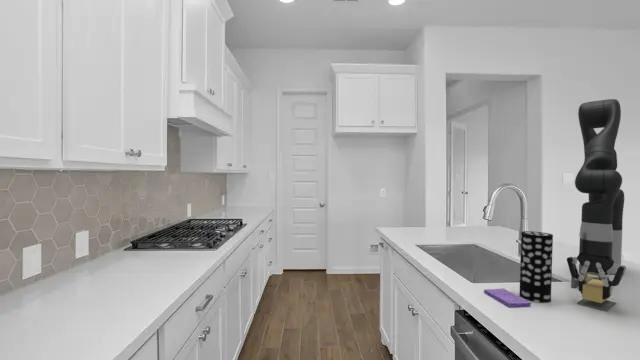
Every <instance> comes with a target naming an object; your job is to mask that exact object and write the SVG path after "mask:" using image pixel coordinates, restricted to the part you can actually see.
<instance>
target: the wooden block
mask: <svg viewBox="0 0 640 360" xmlns="http://www.w3.org/2000/svg"><path fill="white" fill-rule="evenodd" d="M603 286H604V285H603V282H602V281H601V280H596V279H593V280H591V281H589V282H587V283H586V284H584V285H583V294H581V295H582V297H581V299H587V300H591V301H595V302H599V303H602V302H604V301H605V299H603ZM612 289H613V286H611V289H610V297H609V298H611V297H612V296H613V295H612V291H613V290H612ZM609 298H607V299H606V300H608V299H609Z"/></svg>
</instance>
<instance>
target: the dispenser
mask: <svg viewBox="0 0 640 360" xmlns="http://www.w3.org/2000/svg"><path fill="white" fill-rule="evenodd" d="M582 268H583V267H582V265H581V264H580V263H578V274H580V273H581V270H582ZM608 274H609V270H608ZM609 275H610V274H609ZM570 277H571V282H570V287H571V288H573V289H575V288H577V287H579V280H578V279H576V278H573V277H572V276H571V275H570ZM593 279H596V280H601V281H602V279H601V278H600V275H599V274H597V273H594V272H589V273H588V275H587V277H586V279H585V281H586V283H587V282H589V281H591V280H593Z"/></svg>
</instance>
